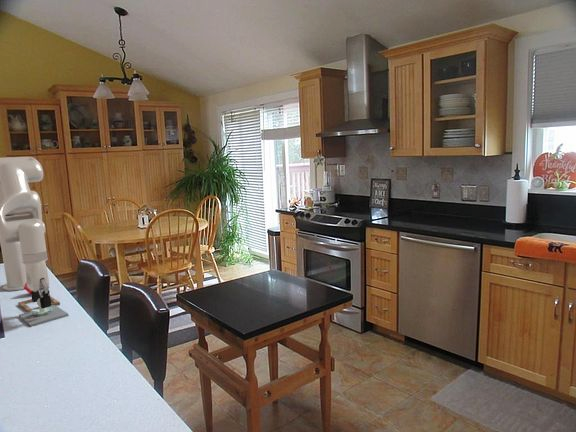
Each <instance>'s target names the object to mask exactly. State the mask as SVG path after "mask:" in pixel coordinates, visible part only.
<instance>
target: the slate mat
mask: <svg viewBox="0 0 576 432" xmlns="http://www.w3.org/2000/svg"><path fill="white" fill-rule="evenodd" d="M18 317H19V318H20V319H21V320H22V321H23V322H25V323H26V324H27V325H28V326H29V327H30V328H32V327H35V326H39V325H42V324H45V323H48V322H52V321H56V320H59V319H63V318H66V317H69V313H68V312H67V311H65V310H63V309H62V308H60V307H59V306H58V305H57V306H56V305H54V308H53V310H52V311H50V312H49V313H48V314H46V315H41V316H38V315H33V314H32V312H27V311H26V312H24V313H20V314H18Z"/></svg>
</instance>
